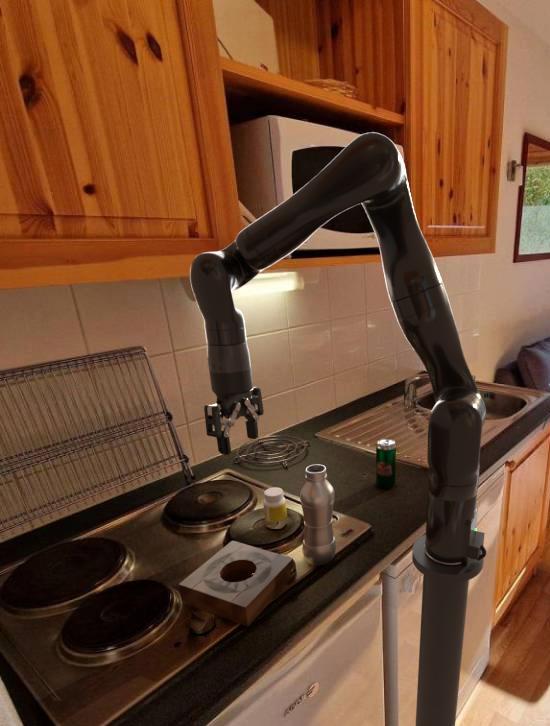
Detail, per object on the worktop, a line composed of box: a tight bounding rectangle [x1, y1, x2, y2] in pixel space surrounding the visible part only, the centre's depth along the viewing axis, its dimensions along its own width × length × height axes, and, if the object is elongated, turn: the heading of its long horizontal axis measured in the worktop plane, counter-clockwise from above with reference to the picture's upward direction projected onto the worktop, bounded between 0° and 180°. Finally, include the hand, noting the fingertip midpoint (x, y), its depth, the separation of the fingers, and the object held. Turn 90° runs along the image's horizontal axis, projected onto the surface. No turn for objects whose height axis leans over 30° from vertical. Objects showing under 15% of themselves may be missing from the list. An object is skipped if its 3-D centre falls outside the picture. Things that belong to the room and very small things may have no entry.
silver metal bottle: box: [299, 463, 337, 566], centre depth 91 cm, size 6×7×20 cm
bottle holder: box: [178, 540, 295, 627], centre depth 86 cm, size 14×14×4 cm
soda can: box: [375, 438, 397, 490], centre depth 121 cm, size 5×5×12 cm
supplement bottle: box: [262, 487, 288, 523], centre depth 104 cm, size 5×5×8 cm
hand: (239, 445), depth 95 cm, fingers open, 8 cm apart
